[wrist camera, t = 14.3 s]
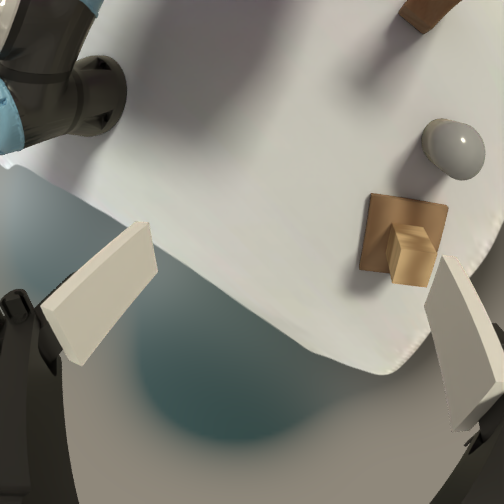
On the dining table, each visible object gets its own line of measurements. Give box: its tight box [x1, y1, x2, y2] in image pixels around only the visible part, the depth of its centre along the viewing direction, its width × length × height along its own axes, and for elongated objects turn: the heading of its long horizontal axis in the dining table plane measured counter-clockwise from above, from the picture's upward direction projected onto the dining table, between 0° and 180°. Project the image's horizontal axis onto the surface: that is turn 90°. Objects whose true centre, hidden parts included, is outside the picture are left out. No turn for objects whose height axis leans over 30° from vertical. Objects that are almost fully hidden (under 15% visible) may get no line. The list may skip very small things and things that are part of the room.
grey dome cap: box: [422, 118, 485, 180], centre depth 30 cm, size 7×7×7 cm
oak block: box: [386, 223, 437, 287], centre depth 37 cm, size 5×5×8 cm
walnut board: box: [359, 193, 448, 273], centre depth 41 cm, size 12×12×1 cm
